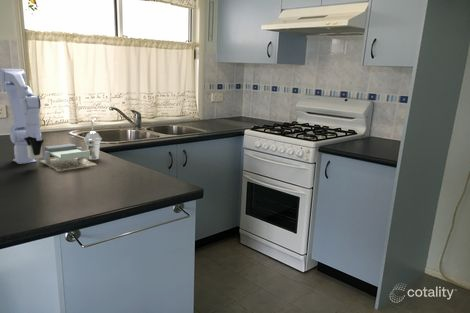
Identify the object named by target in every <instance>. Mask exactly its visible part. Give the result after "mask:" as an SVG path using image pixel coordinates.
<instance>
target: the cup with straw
mask: <svg viewBox="0 0 470 313" xmlns="http://www.w3.org/2000/svg"><path fill="white" fill-rule="evenodd" d="M96 120H97V117H94V119H93V120H91V131H89V132H87V133H86V134H85V137H84V138H83V141H84V142H85V145H86V147H87V148H86V149H87V150H86V151H88V150H90V156H88V158H89V159H88V160H90V161H91V160H94V161H95V160H98V159H99V158H100V157H99V156H100V145H101V141H102V140H103V138H102V137H101V136H100V134H99V133H98V132H97V131H94V122H95V121H96Z"/></svg>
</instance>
